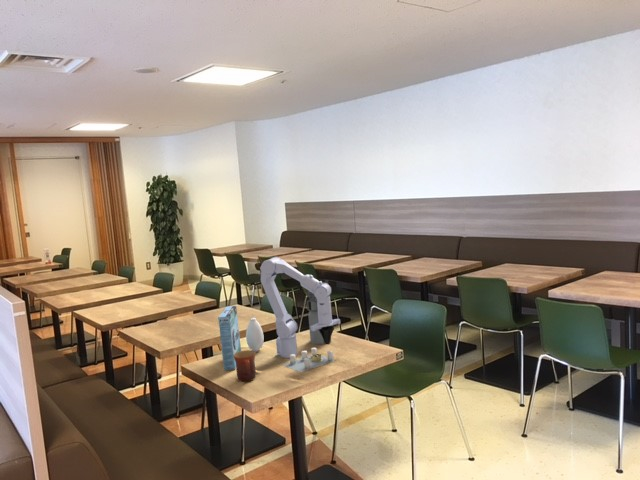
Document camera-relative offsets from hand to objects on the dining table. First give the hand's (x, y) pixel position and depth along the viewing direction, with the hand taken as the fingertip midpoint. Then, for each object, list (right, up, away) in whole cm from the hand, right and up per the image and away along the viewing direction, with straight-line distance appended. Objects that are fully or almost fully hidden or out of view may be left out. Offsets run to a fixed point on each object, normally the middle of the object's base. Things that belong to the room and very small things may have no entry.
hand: (327, 343), depth 220 cm
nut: (-4, -6, -3) cm, 8 cm away
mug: (-32, -11, -18) cm, 38 cm away
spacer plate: (-8, -8, -5) cm, 12 cm away
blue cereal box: (-41, -9, +5) cm, 42 cm away
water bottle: (-3, -4, +23) cm, 24 cm away
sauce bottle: (-33, -7, +19) cm, 38 cm away
